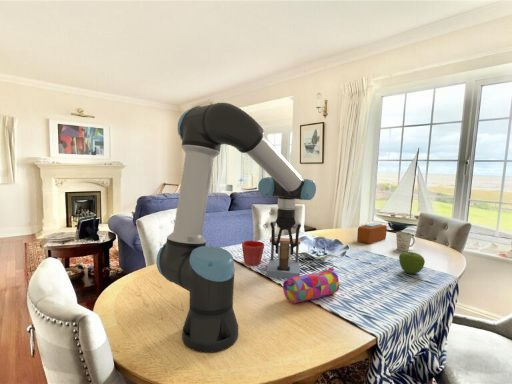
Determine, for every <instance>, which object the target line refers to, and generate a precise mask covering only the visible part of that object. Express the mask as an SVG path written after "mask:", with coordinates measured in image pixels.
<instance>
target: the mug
mask: <svg viewBox="0 0 512 384" xmlns="http://www.w3.org/2000/svg"><path fill="white" fill-rule="evenodd" d="M395 234H396V249H397V250H399V251H403V252H409V249H410V248H411V247H413V246H414V244H416V238H415V237H414V236H413V235H412V233H410V232H405V231H396V233H395ZM411 241H412V242H411ZM410 244H411V245H410Z"/></svg>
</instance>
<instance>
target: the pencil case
mask: <svg viewBox="0 0 512 384" xmlns="http://www.w3.org/2000/svg"><path fill="white" fill-rule="evenodd" d="M334 270H335V268H334V267H329V268H328V269H327V268H325V269H323V270H321V271H318V272H315V273H308V274H303V275H300V276H293V277H291V278H286V279H285V280H284V281H283V284H282V289H283V294H284V297H285V298H286V300H287V301H289V302H290V303H291V304H294V305H296V304H297V303H299V302H300V303H301V302H307V301H310V300H313V299H319V298H321V297H327V296H329V295H330V296H331V295H333V294H336V293H338V291H339V289H340V282H339V277H338V274H337V273H336V272H335V271H334Z"/></svg>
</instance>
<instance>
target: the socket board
mask: <svg viewBox="0 0 512 384" xmlns="http://www.w3.org/2000/svg"><path fill="white" fill-rule="evenodd" d="M277 238H278V237H276V236H275V242H277ZM281 242H287V243H289V245H290V239H289V237H280V241H279V244H280V243H281ZM269 243H271V245H270V247H271V249H270V258H269V260H268V264H267V268H266V275H265V276H266V277H271V278H279V279H289V278H291V277H293V276H301V275H300V274H301V270H300V261H299V248H300V247H299V246H300V245H301V238H298V246H297V247H295V256H294V257H295V260H290V263H288V271H281V270H279V262H278V258H277V259H275V257H274V255H275V254H274V253H275V245H272V236H271V237H270V238H269ZM293 243H295V238H293Z"/></svg>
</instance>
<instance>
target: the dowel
mask: <svg viewBox="0 0 512 384" xmlns="http://www.w3.org/2000/svg"><path fill="white" fill-rule="evenodd" d="M279 245H280V260H279V270H281V271H288V260H289V246H290V244H289V243H287V242H281V243H279Z"/></svg>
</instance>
